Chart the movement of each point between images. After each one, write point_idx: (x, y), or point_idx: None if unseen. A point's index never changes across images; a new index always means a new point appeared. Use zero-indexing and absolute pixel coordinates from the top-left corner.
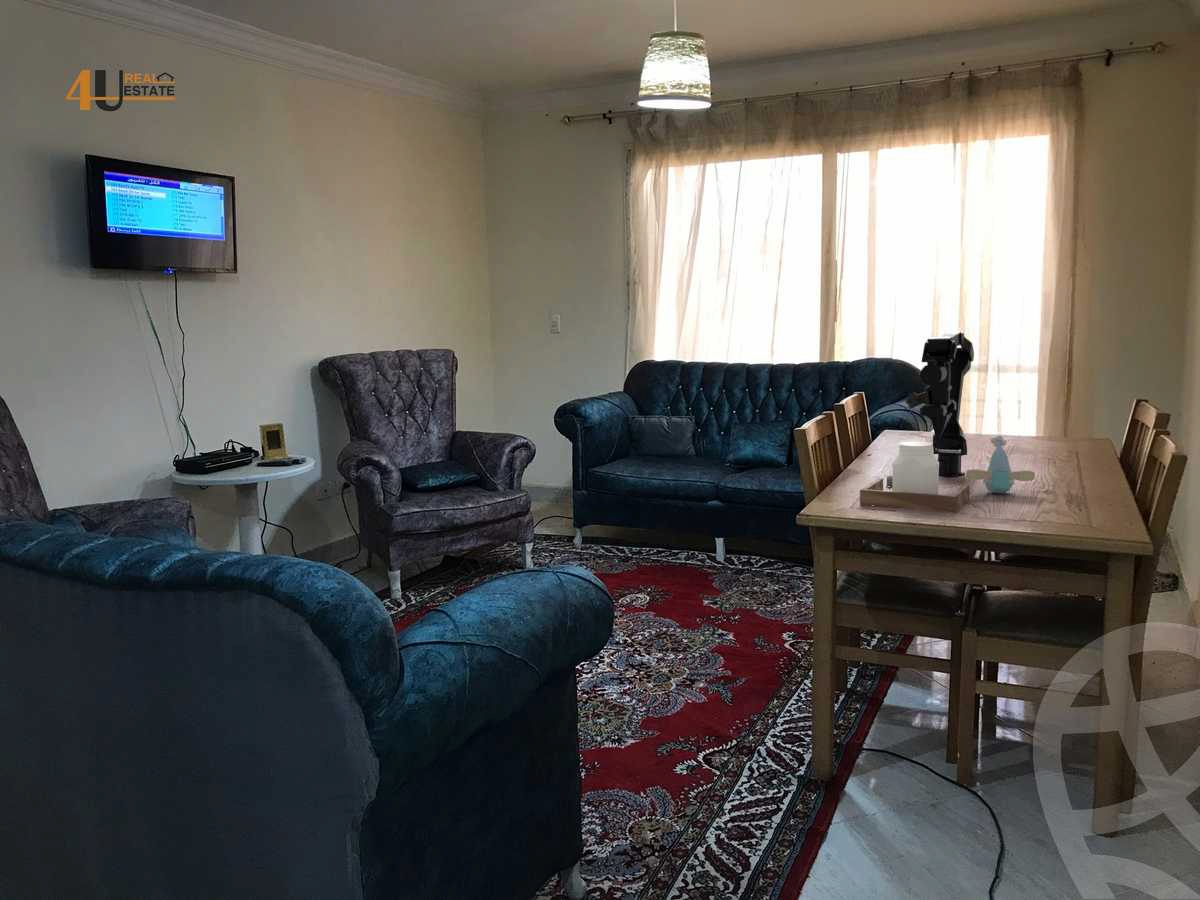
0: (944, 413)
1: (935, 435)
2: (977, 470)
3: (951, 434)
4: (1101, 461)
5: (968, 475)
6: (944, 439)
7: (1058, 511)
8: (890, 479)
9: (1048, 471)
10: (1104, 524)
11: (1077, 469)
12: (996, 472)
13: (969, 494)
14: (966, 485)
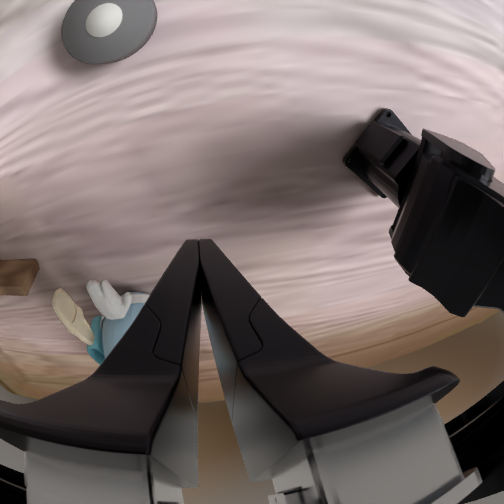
0: (11, 482)
1: (179, 254)
2: (66, 326)
3: (430, 258)
4: (449, 331)
5: (58, 297)
6: (427, 211)
7: (62, 367)
8: (68, 11)
9: (403, 314)
10: (43, 388)
11: (410, 333)
12: (88, 352)
13: (35, 276)
14: (8, 292)
